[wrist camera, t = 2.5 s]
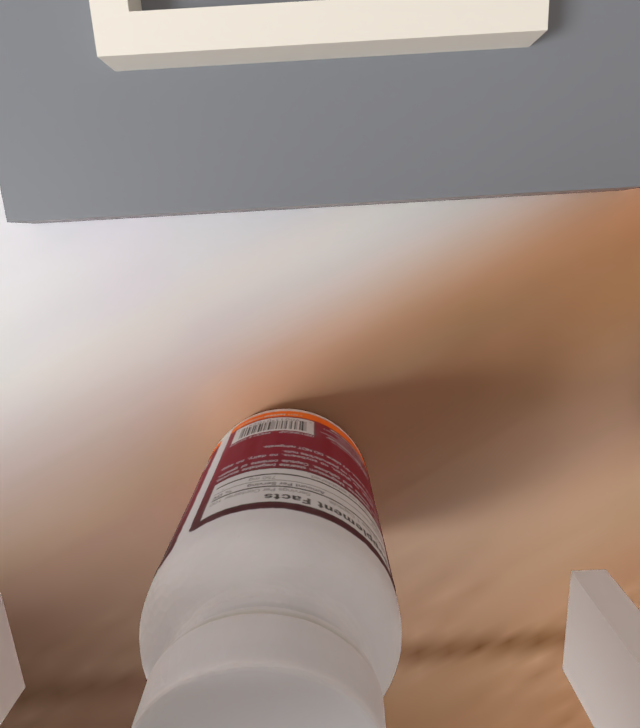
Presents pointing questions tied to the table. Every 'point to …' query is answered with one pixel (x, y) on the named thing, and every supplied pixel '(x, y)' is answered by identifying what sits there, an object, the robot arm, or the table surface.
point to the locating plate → (311, 103)
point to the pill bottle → (273, 589)
